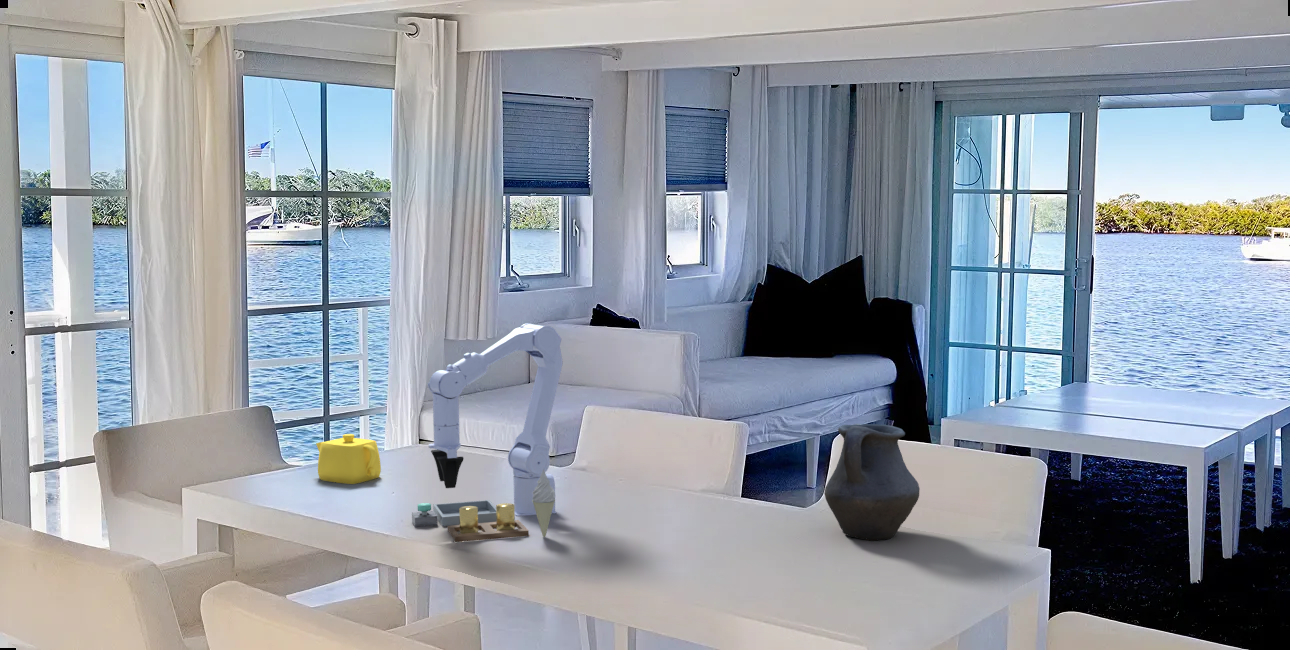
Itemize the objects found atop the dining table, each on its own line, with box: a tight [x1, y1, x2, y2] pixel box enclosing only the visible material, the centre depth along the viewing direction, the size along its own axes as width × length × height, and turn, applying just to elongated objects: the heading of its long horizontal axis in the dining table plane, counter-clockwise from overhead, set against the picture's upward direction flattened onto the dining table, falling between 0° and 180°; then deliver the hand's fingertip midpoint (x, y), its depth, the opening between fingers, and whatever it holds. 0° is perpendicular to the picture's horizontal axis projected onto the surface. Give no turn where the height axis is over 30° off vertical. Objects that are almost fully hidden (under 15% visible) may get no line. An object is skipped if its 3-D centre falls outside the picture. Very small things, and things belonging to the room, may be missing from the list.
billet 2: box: [495, 502, 516, 531], centre depth 285 cm, size 4×4×6 cm
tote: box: [432, 499, 496, 527], centre depth 297 cm, size 13×13×2 cm
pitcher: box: [823, 423, 920, 542], centre depth 279 cm, size 21×22×25 cm
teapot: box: [315, 433, 382, 485], centre depth 342 cm, size 20×12×12 cm, turn 59°
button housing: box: [411, 510, 439, 528], centre depth 291 cm, size 5×5×2 cm
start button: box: [417, 502, 432, 516], centre depth 291 cm, size 3×3×4 cm
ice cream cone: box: [532, 469, 556, 538], centre depth 280 cm, size 5×5×15 cm
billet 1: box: [459, 506, 479, 534], centre depth 282 cm, size 4×4×6 cm
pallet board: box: [447, 519, 530, 543], centre depth 284 cm, size 16×10×1 cm, turn 108°
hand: (447, 484), depth 290 cm, fingers open, 7 cm apart
